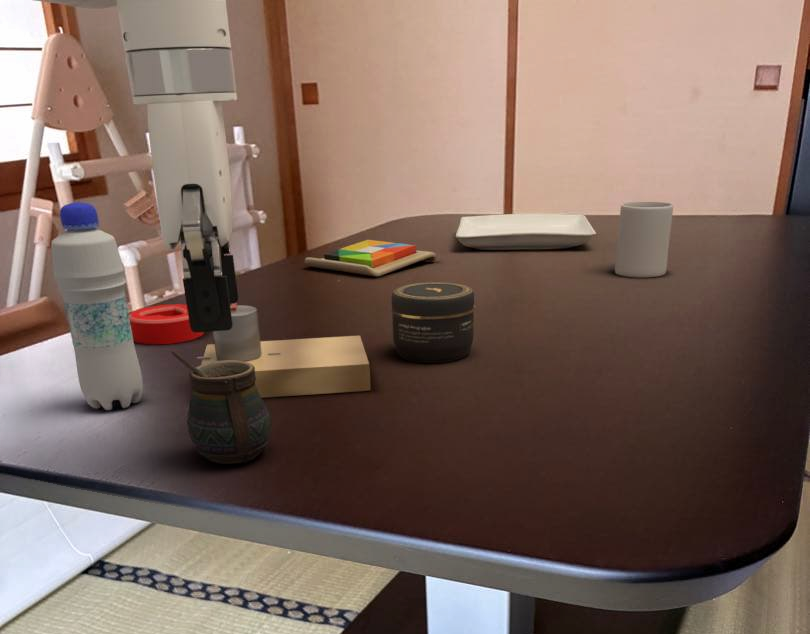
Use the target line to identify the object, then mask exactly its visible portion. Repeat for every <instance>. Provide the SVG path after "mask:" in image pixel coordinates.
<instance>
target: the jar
mask: <svg viewBox="0 0 810 634" xmlns="http://www.w3.org/2000/svg"><path fill="white" fill-rule="evenodd" d="M475 310H476V305H475V292H474V290H473V288H471V287H470V286H468V285H464V284H461V283H454V282H442V281H441V282H440V281H437V282H436V281H435V282H434V281H433V282H432V281H431V282H417V283H410V284H406V285H402V286H398V287H397V288H395V289H394V290H393V291H392V292H391V310H390V311H391V313H392V314H391V316H392V339H393V345H394V348H395V350H396V353H397V354H398V355H399V357H401V358H402V359H404V360H406V361H410V362H414V363H422V364H423V363H424V364H438V363H449V362H454V361H458V360H461V359H463V358H465V357H466V356H467V355H468V354H469V353H470V351H471V349H472V345H473V341H474V329H475V328H474V327H475V325H474V323H475V321H474V319H475Z"/></svg>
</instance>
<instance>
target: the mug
mask: <svg viewBox="0 0 810 634" xmlns="http://www.w3.org/2000/svg"><path fill="white" fill-rule="evenodd" d="M619 210H620V211H619V212H620V213H619V222H618V233H617V245H616V256H615V264H614V273H615V274H616V275H618V276H621V277H627V278H637V279H638V278H640V279H641V278H642V279H643V278H644V279H645V278H646V279H647V278H648V279H649V278H657V277H662V276H664V275H666V273H667V268H668V258H669V257H668V256H669V247H670V241H671V240H670V238H671V229H672V222H673V214H674V204H672V203H671V202H664V201H663V202H662V201H631V202H625V203H622V204H621V205H620V209H619Z"/></svg>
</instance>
